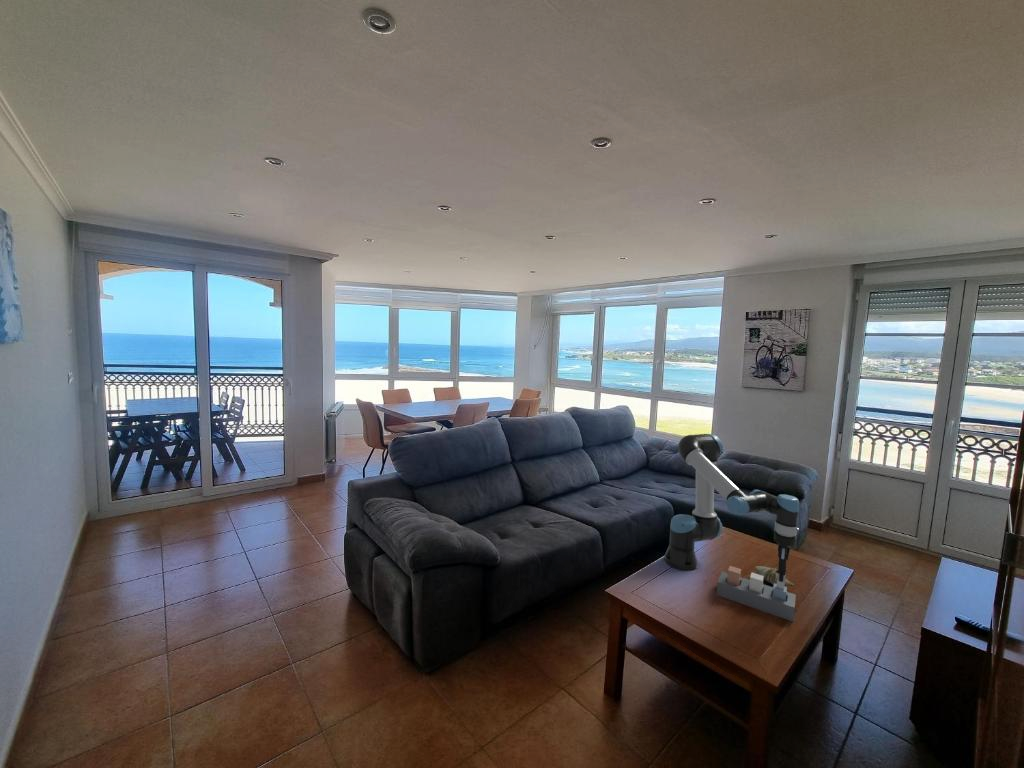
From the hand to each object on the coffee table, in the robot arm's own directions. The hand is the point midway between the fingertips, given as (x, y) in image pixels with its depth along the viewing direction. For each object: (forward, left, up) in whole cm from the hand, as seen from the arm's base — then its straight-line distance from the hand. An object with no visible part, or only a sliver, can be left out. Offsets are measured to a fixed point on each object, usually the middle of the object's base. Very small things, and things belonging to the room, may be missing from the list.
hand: (780, 587), depth 171 cm
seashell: (-4, +19, -10) cm, 22 cm away
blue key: (0, 0, -7) cm, 7 cm away
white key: (-9, 0, -6) cm, 10 cm away
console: (-9, 0, -10) cm, 13 cm away
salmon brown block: (-17, 0, -6) cm, 18 cm away
